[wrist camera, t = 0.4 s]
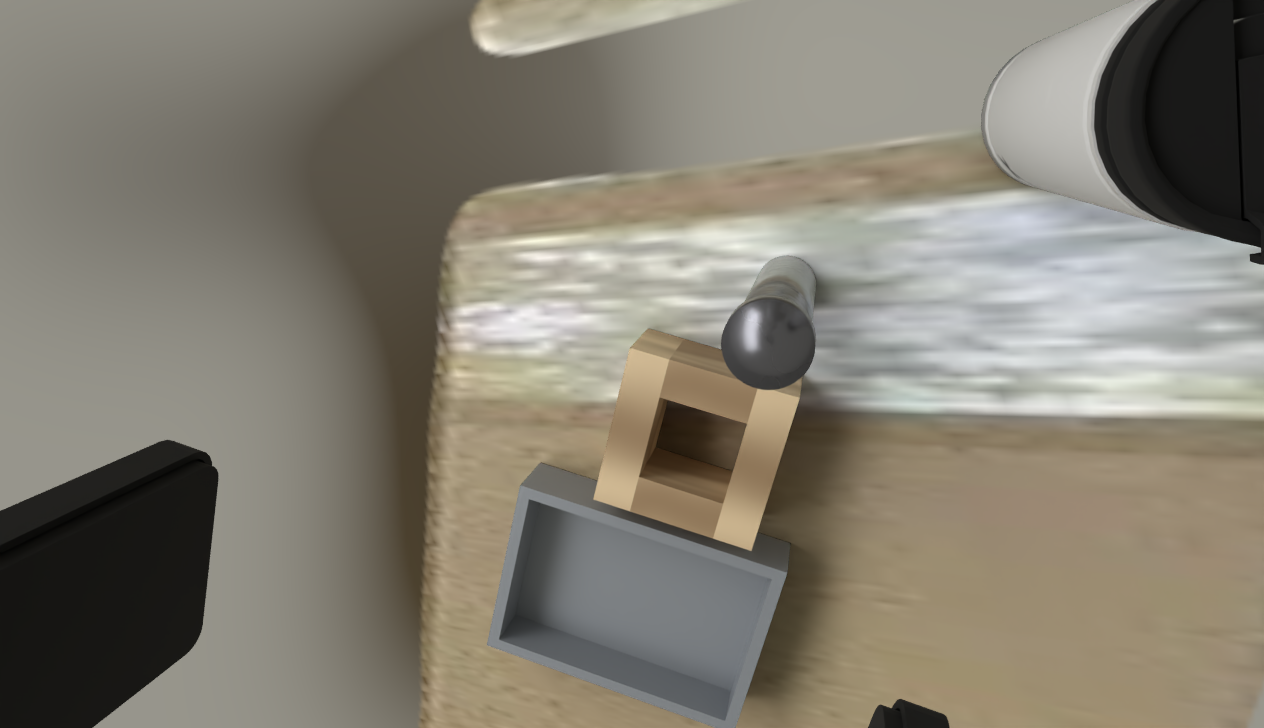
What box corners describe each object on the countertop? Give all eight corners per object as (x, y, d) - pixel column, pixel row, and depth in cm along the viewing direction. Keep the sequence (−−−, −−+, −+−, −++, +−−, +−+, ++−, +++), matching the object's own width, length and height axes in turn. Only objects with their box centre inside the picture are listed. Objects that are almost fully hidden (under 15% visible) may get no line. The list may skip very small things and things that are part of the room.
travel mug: (987, 208, 37) (1144, 288, 18) (973, 53, 36) (1127, -31, 17) (1145, 182, 35) (1495, 241, 17) (1136, 19, 34) (1510, -118, 15)
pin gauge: (763, 243, 40) (735, 289, 28) (829, 261, 39) (827, 314, 28) (745, 307, 41) (710, 375, 30) (809, 325, 40) (799, 401, 29)
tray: (540, 462, 46) (520, 485, 43) (790, 543, 43) (787, 572, 41) (507, 614, 49) (486, 644, 46) (739, 696, 47) (733, 734, 44)
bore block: (648, 328, 42) (629, 347, 38) (802, 373, 41) (799, 397, 37) (613, 468, 45) (593, 499, 41) (758, 514, 43) (751, 551, 40)
